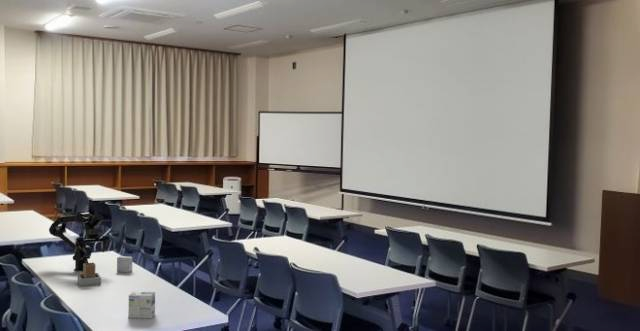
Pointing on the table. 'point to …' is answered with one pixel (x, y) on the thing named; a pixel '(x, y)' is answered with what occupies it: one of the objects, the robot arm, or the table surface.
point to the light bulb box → (141, 305)
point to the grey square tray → (89, 280)
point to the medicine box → (124, 264)
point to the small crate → (88, 270)
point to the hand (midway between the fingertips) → (95, 252)
